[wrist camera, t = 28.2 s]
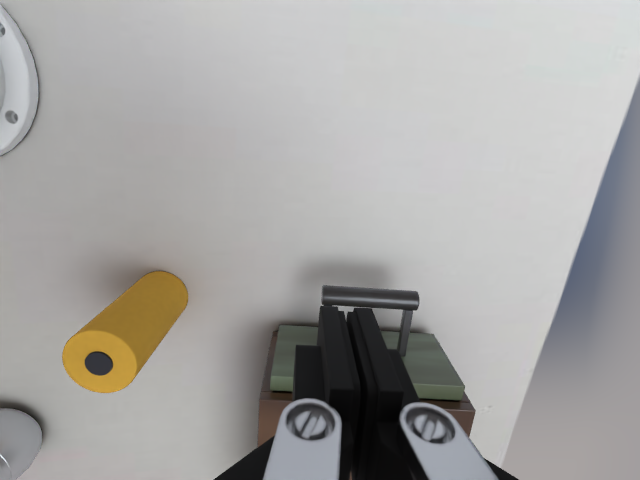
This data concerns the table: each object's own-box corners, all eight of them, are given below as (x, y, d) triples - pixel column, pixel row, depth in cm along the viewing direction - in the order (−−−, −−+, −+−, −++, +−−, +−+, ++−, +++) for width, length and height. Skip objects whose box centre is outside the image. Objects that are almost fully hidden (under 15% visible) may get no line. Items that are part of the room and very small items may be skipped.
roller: (134, 269, 30) (55, 329, 21) (188, 272, 30) (133, 334, 21) (137, 316, 31) (64, 393, 22) (188, 319, 32) (137, 397, 22)
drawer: (282, 266, 29) (274, 304, 23) (444, 277, 30) (481, 317, 23) (272, 457, 35) (263, 532, 28) (408, 464, 35) (430, 538, 29)
